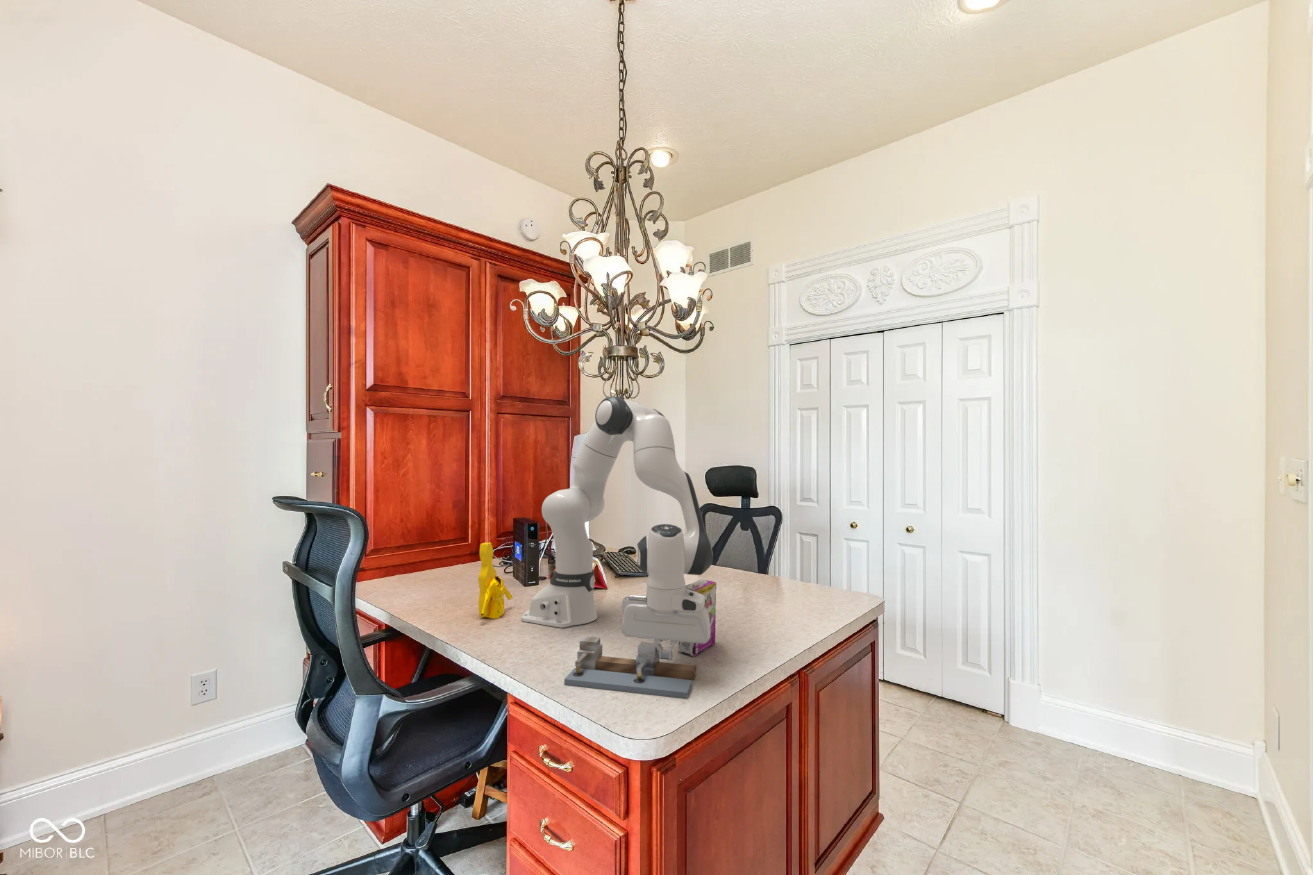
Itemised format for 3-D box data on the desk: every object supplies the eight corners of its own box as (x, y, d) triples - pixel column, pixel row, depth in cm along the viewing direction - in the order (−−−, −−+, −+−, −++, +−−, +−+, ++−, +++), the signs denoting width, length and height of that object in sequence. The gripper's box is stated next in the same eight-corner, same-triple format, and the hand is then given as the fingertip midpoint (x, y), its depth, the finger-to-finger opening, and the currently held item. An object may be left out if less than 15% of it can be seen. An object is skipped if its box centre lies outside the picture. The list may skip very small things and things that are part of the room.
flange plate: (564, 684, 116) (564, 678, 116) (574, 673, 122) (574, 667, 122) (686, 698, 110) (687, 692, 110) (691, 685, 116) (691, 679, 116)
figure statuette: (488, 626, 153) (488, 549, 153) (463, 624, 155) (464, 548, 155) (517, 607, 170) (518, 538, 171) (495, 606, 172) (495, 537, 172)
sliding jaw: (630, 685, 115) (630, 657, 115) (643, 664, 126) (643, 639, 126) (647, 687, 114) (648, 658, 114) (659, 666, 125) (659, 640, 125)
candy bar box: (695, 657, 131) (695, 590, 131) (678, 653, 134) (678, 587, 134) (716, 643, 140) (717, 581, 140) (700, 639, 143) (700, 578, 143)
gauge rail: (568, 679, 118) (568, 651, 118) (586, 660, 129) (586, 634, 129) (689, 693, 112) (689, 662, 112) (697, 671, 123) (697, 644, 123)
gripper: (618, 597, 121) (617, 659, 121) (708, 604, 117) (707, 668, 116) (626, 590, 127) (625, 648, 127) (711, 596, 123) (711, 657, 122)
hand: (665, 658), depth 122 cm, fingers closed
